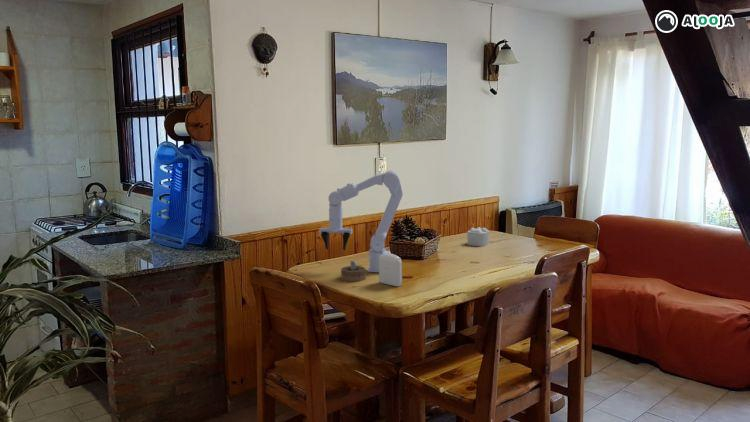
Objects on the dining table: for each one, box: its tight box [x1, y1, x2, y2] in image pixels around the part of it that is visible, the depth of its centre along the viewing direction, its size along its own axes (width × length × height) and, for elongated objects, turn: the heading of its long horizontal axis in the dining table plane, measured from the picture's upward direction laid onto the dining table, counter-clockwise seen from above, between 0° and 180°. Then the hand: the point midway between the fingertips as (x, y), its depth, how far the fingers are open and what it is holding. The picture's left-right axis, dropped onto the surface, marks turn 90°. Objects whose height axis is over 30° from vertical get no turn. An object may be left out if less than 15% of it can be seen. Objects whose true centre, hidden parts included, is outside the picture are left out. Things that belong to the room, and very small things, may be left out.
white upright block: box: [378, 253, 403, 287], centre depth 234 cm, size 10×4×12 cm, turn 47°
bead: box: [340, 265, 367, 282], centre depth 243 cm, size 10×10×4 cm
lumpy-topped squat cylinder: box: [466, 226, 490, 248], centre depth 314 cm, size 10×13×9 cm
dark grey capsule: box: [350, 260, 357, 270], centre depth 243 cm, size 2×2×7 cm
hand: (335, 249), depth 256 cm, fingers open, 7 cm apart
